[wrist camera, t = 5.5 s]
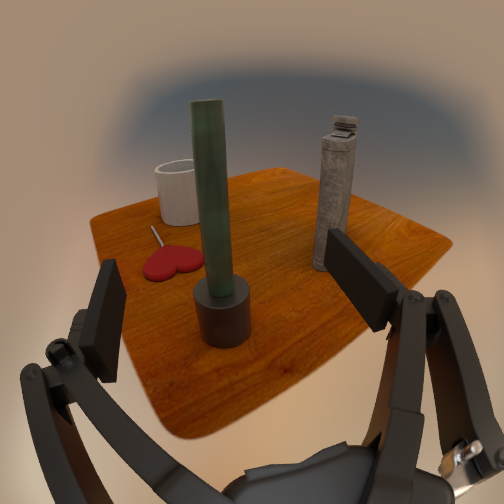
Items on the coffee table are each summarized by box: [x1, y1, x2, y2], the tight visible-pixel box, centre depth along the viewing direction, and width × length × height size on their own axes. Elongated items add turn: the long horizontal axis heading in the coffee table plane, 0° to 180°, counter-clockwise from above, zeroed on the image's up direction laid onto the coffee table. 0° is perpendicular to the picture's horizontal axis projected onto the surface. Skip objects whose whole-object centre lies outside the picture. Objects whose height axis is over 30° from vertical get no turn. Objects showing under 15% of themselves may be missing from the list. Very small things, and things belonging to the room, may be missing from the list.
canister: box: [155, 159, 200, 226], centre depth 47 cm, size 9×9×9 cm
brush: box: [189, 99, 251, 348], centre depth 21 cm, size 5×5×20 cm
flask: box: [312, 115, 359, 271], centre depth 35 cm, size 4×14×18 cm, turn 159°
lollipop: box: [143, 226, 204, 281], centre depth 39 cm, size 8×1×15 cm
